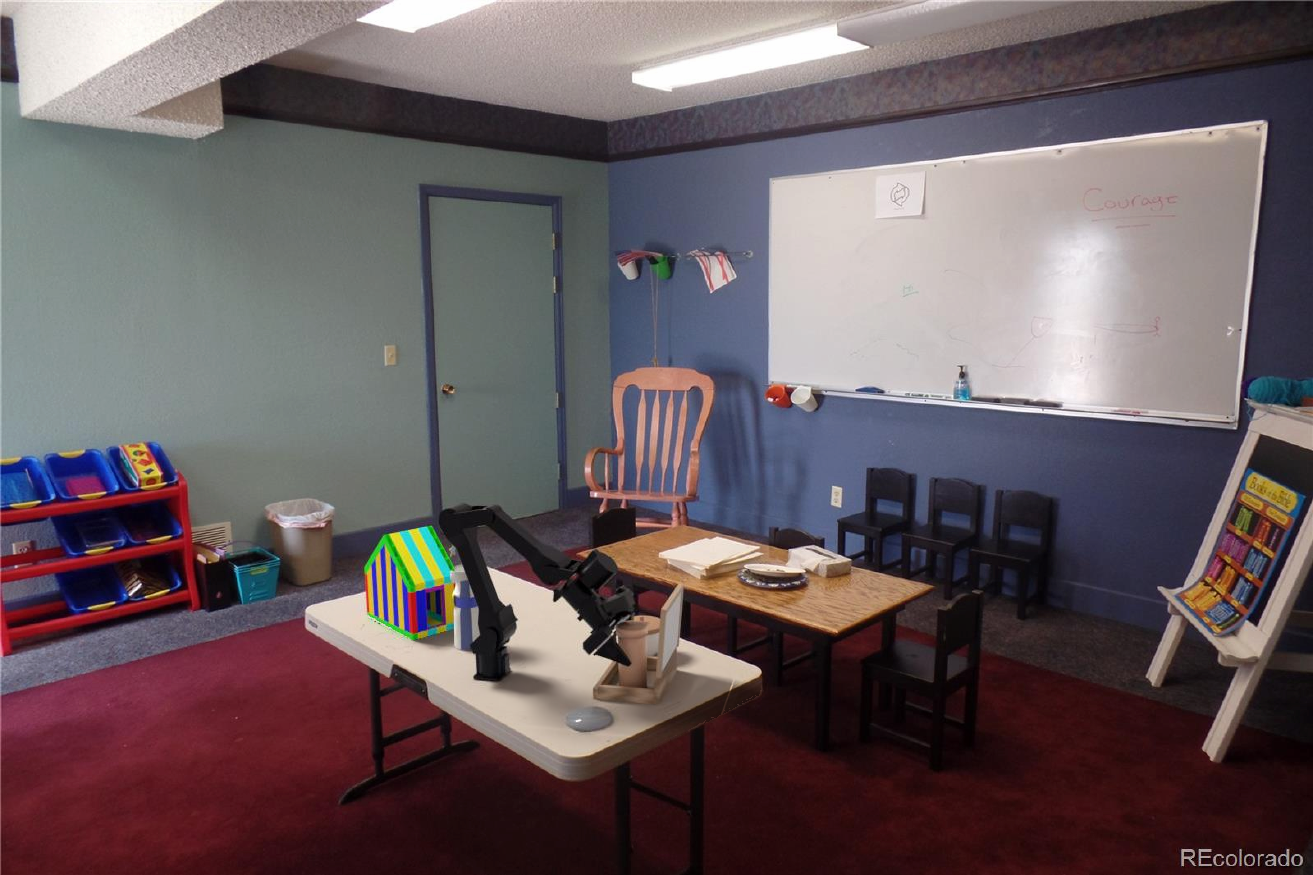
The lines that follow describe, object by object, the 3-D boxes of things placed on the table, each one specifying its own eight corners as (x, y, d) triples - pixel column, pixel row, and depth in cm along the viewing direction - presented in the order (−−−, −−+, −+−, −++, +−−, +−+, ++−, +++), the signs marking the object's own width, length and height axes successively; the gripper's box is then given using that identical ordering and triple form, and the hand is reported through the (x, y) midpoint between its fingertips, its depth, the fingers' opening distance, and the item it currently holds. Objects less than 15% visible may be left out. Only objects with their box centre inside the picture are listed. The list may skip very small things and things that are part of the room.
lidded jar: (639, 643, 212) (639, 605, 211) (674, 653, 205) (673, 614, 204) (610, 656, 204) (609, 617, 203) (644, 667, 197) (644, 627, 196)
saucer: (559, 729, 168) (559, 724, 167) (574, 709, 176) (573, 704, 176) (604, 733, 166) (603, 729, 165) (616, 713, 174) (616, 708, 174)
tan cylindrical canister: (613, 694, 182) (612, 630, 180) (622, 681, 189) (620, 619, 187) (644, 697, 181) (643, 632, 179) (651, 684, 187) (650, 621, 185)
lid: (655, 677, 176) (654, 609, 175) (674, 645, 194) (673, 582, 192) (666, 678, 176) (665, 609, 174) (684, 645, 194) (683, 582, 192)
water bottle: (448, 651, 208) (443, 549, 205) (456, 638, 217) (452, 540, 213) (482, 651, 208) (478, 549, 205) (489, 638, 217) (485, 540, 213)
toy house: (367, 618, 233) (361, 527, 229) (413, 606, 242) (408, 518, 239) (413, 641, 216) (407, 542, 212) (460, 627, 225) (456, 533, 222)
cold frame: (593, 699, 180) (592, 672, 180) (616, 666, 198) (616, 641, 197) (658, 705, 177) (658, 677, 177) (676, 671, 195) (676, 645, 194)
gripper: (595, 591, 174) (649, 649, 172) (624, 566, 192) (673, 618, 190) (560, 626, 177) (613, 683, 175) (592, 598, 195) (640, 649, 193)
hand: (636, 656), depth 183 cm, fingers open, 9 cm apart
